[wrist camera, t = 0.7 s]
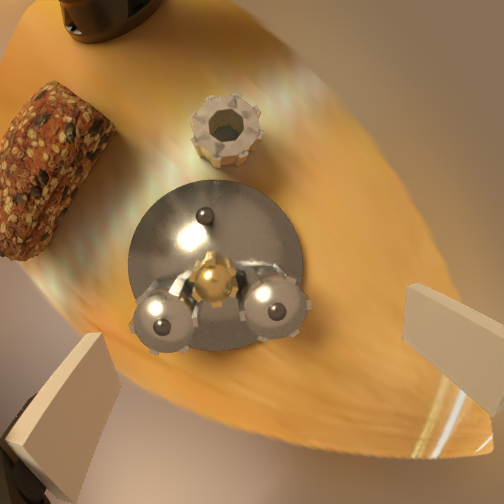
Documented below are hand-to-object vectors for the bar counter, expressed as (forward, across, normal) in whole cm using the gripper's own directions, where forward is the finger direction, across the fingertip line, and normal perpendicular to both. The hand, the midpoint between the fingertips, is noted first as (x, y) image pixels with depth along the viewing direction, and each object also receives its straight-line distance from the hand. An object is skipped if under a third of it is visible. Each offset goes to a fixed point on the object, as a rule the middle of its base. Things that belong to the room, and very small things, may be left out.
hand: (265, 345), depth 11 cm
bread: (+22, -22, +13) cm, 34 cm away
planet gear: (+22, 0, +12) cm, 25 cm away
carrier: (+22, -3, -2) cm, 22 cm away
